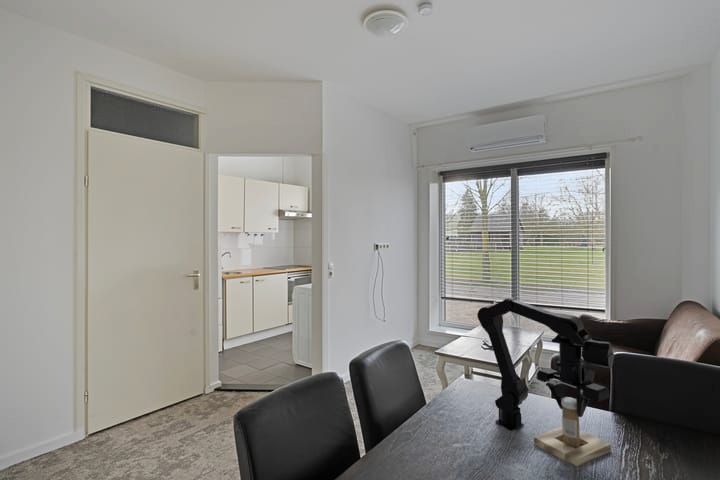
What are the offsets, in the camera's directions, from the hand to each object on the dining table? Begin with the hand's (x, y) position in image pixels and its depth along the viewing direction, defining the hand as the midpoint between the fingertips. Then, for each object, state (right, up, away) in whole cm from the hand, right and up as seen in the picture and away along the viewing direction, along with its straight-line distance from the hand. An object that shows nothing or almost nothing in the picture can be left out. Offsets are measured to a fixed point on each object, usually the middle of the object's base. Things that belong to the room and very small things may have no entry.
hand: (571, 412), depth 108 cm
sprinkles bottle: (0, -10, 0) cm, 10 cm away
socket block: (0, -10, 0) cm, 10 cm away
